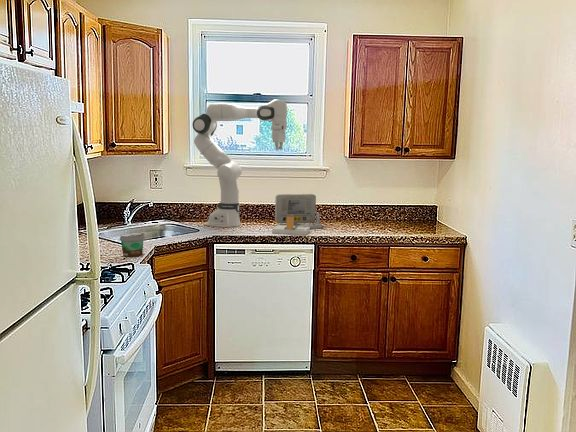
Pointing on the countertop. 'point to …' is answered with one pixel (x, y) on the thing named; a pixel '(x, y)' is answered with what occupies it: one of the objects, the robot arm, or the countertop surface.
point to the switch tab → (290, 221)
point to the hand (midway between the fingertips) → (278, 149)
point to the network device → (295, 208)
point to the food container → (132, 245)
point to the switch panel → (291, 230)
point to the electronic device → (314, 225)
